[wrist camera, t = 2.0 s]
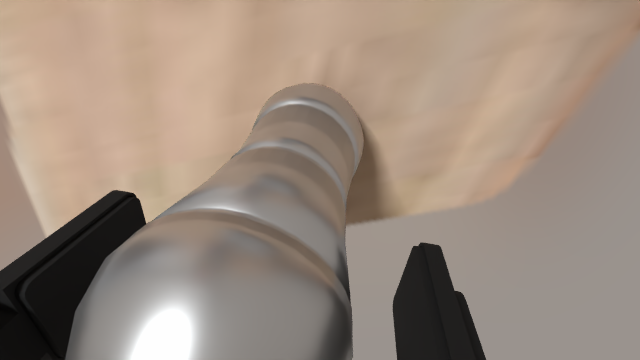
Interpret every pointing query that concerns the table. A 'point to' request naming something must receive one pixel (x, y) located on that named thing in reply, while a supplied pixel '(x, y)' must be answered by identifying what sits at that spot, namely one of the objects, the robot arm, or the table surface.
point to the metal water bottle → (241, 252)
